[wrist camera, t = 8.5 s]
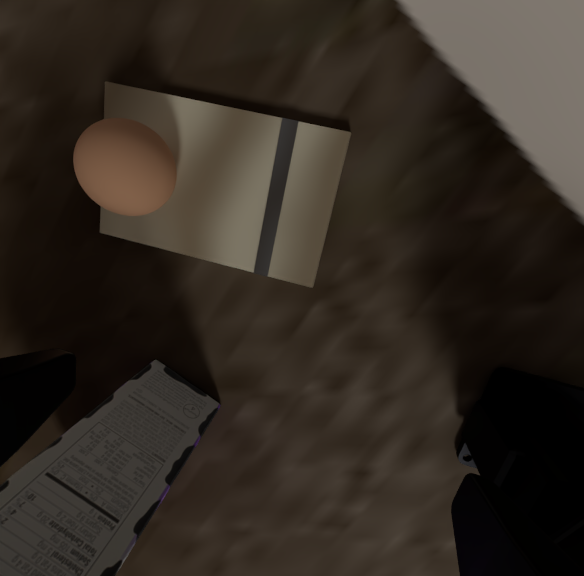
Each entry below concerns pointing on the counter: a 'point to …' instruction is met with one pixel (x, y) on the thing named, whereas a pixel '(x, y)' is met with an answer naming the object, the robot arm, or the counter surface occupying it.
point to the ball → (125, 166)
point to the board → (235, 184)
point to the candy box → (102, 479)
